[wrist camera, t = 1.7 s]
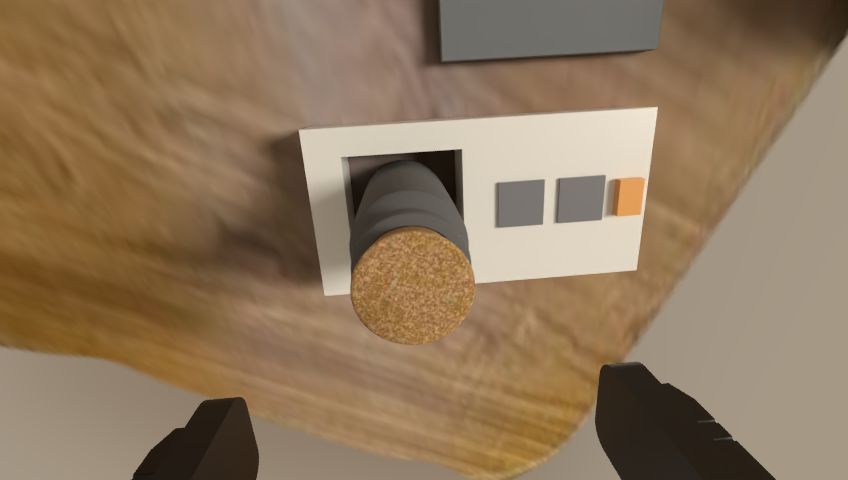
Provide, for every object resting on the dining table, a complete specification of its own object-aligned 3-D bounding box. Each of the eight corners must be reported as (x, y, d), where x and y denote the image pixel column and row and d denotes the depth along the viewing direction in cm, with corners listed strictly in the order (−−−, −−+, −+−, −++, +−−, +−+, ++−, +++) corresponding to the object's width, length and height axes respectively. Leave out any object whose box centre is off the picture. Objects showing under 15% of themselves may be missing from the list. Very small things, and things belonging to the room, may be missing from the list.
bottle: (416, 251, 30) (434, 380, 16) (349, 210, 29) (305, 314, 15) (460, 187, 29) (522, 268, 15) (392, 142, 27) (389, 184, 13)
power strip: (332, 274, 30) (323, 299, 27) (310, 126, 27) (296, 130, 23) (611, 252, 31) (641, 273, 28) (626, 106, 28) (663, 107, 24)
